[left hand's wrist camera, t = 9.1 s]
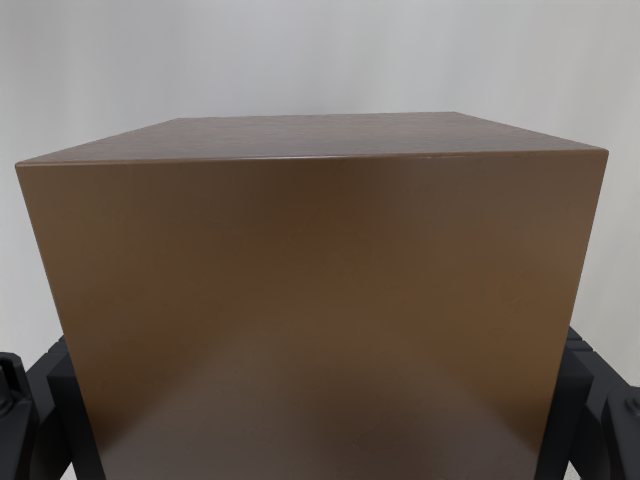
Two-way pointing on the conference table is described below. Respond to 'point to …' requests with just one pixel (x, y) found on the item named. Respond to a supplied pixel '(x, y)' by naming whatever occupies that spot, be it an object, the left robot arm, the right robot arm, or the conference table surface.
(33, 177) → the beam
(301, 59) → the conference table surface
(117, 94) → the conference table surface
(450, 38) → the conference table surface
